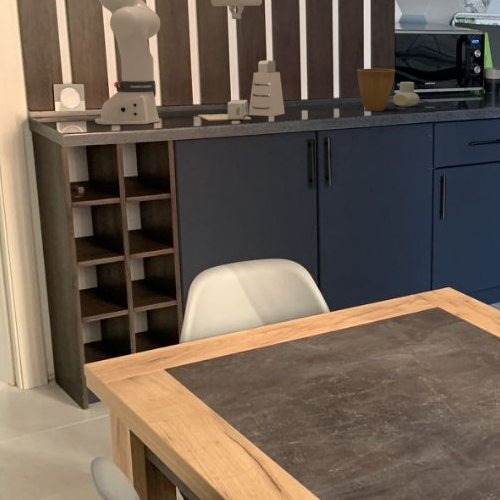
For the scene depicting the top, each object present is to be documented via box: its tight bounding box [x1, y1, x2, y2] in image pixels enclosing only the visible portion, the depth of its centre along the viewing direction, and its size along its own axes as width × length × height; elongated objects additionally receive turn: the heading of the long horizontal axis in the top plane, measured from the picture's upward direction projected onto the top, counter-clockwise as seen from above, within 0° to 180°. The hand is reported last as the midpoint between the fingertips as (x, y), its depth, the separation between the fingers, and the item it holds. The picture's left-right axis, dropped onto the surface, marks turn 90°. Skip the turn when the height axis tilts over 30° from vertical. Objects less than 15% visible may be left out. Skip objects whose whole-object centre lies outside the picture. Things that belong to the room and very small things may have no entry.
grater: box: [247, 60, 286, 117], centre depth 317 cm, size 10×10×20 cm
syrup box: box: [227, 99, 249, 120], centre depth 303 cm, size 6×6×14 cm
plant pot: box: [356, 68, 396, 112], centre depth 332 cm, size 15×15×16 cm
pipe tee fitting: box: [392, 81, 420, 108], centre depth 349 cm, size 11×8×10 cm
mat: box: [197, 113, 252, 122], centre depth 306 cm, size 16×16×1 cm
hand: (236, 19), depth 303 cm, fingers closed
